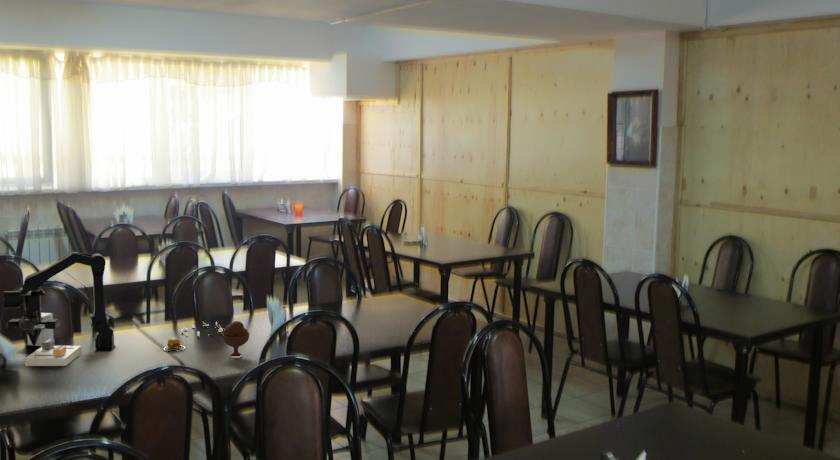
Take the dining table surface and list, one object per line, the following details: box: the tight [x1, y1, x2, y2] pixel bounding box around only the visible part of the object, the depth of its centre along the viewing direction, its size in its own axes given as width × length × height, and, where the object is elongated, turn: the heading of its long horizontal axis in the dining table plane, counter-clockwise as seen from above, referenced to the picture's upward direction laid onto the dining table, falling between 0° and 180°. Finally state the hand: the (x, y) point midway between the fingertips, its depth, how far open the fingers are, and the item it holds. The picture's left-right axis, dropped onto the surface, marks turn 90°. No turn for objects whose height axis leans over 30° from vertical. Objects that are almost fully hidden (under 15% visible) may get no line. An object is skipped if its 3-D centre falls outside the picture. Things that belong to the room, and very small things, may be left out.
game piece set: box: [180, 321, 224, 337], centre depth 357 cm, size 19×20×4 cm
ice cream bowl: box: [221, 320, 250, 356], centre depth 319 cm, size 11×11×15 cm
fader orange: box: [53, 345, 67, 356], centre depth 305 cm, size 3×5×3 cm, turn 4°
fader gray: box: [41, 338, 56, 349], centre depth 315 cm, size 3×5×3 cm, turn 4°
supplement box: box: [26, 312, 54, 347], centre depth 331 cm, size 7×7×13 cm
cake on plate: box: [163, 337, 186, 352], centre depth 329 cm, size 12×12×6 cm
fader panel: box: [24, 345, 83, 367], centre depth 310 cm, size 15×18×3 cm
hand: (34, 344), depth 314 cm, fingers closed
